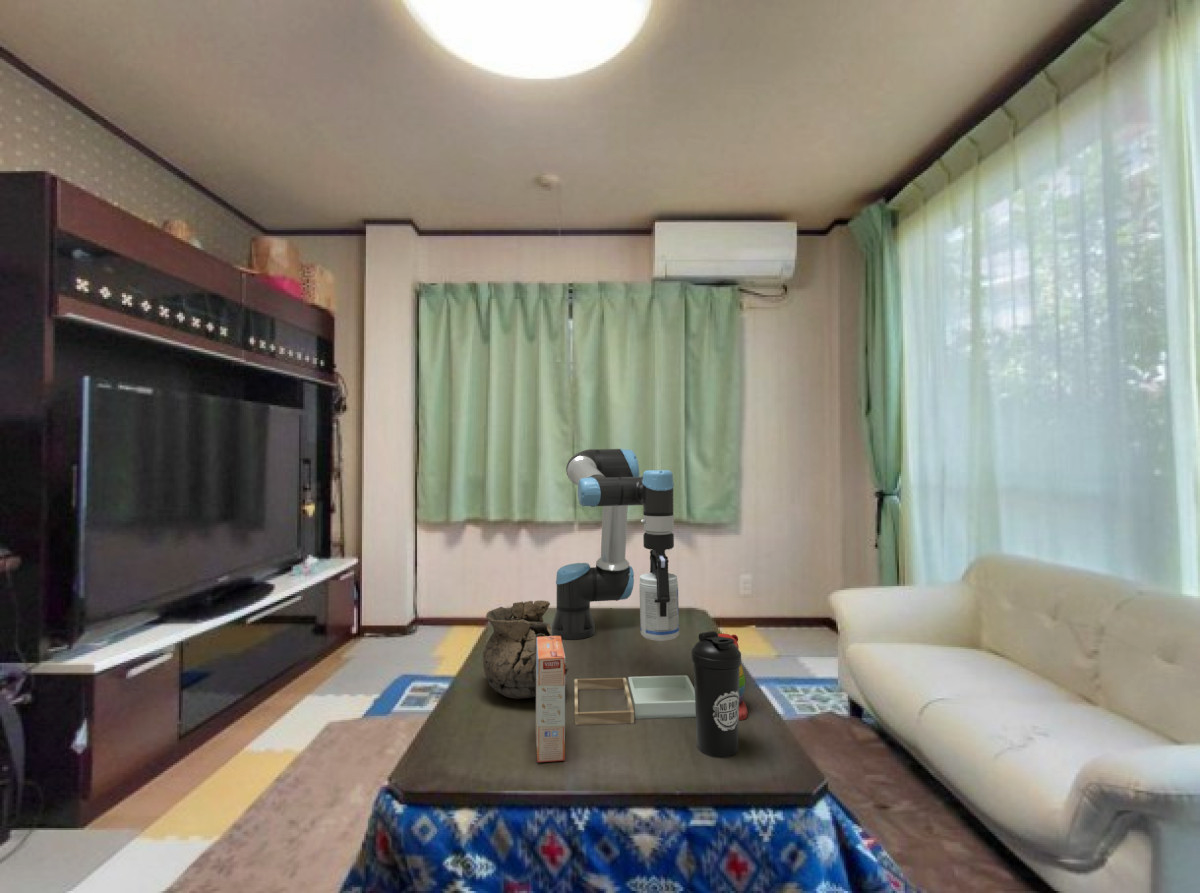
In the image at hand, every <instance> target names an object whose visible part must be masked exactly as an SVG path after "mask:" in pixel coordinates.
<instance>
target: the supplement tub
mask: <svg viewBox="0 0 1200 893" xmlns="http://www.w3.org/2000/svg"><path fill="white" fill-rule="evenodd" d="M668 576H669V596H670V602H668V629H669V630H657V604H656V603H655V599H657V580H656V575H654V574H652V573H650V572H647V573H643V574H641V575H640V576H639V616H640V617H639V622H640V624H639V626H640V635H641V636H642V637H643V638H644V639H647V640H651V641H654V642H655V641H656V642H657V641H658V642H665V641H670V640H673V639H676V638H677V637H678V636H679V635H680V619H679V618H680V616H679V615H680V614H679V611H680V610H679V607H680V606H679V584H678V583H679V581H678V576H677V575H676V574H675V573H669V572H668ZM661 597H663V596H661Z"/></svg>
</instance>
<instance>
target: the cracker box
mask: <svg viewBox="0 0 1200 893" xmlns="http://www.w3.org/2000/svg"><path fill="white" fill-rule="evenodd" d="M565 665H566V654H565V649H564V645H563V639H561V636H553V635H552V636H544V637H537V638H536V697H535V739H536V740H535V741H536V742H535V743H536V759H537V760H536V761H537V763H547V762H548V763H549V762H550V763H551V762H561V761H562V762H564V761H565V760H566V759H565V758H566V738H565V737H566V736H565V735H566V675H565V669H566V667H565Z"/></svg>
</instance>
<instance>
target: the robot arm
mask: <svg viewBox="0 0 1200 893" xmlns="http://www.w3.org/2000/svg"><path fill="white" fill-rule="evenodd" d="M565 471H566V472H565V473H566V475H567V478H568V479H569V481H570V482H572V483H573V484H575V485H576V486H577V498H578V499H577V500H578V503H579V504H580V506H582V507H591V508H594V507H602V513H601V514H602V516H601V517H602V518H601V539H600V540H601V543H600V545H601V546H600V557H599V558H598V559H597V560H596V563H595V567H594V566H593V567H591V565H590V564H589V563H587V562H576V563H569V564H566V565H563V566H561V567H560V568H558V569H557V572H556V580H555V585H556V610H555V611H556V612H555V615H554V618H553V622H552V625H551V635H552V636H561V639H562V640H581V639H586V638H589V637H592V636H594V634H596V624H595V622H594V618H593V616H592V612H591V603H592V602H611V601H616V602H618V601H622V600H623V601H624V600H628V599H629V598H630V597H631V595H632V593H633V590H634V584H635V579H634V576H635V574H634V569H633V567H632V566H631V565H630V562H629V561H628V560H627V559H626V552H627V551H626V548H627V532H628V531H627V526H628V525H627V524H628V507H629V506H642V508H643V510H642V511H643V512H642V514H643V518H642V519H640V522H641V523H642V524H643V531H644V533H643V538H642V539H643V548H644V549H646V550H649V562H650V563H649V564H650V565H649V573H652V574H654V575H656V580H657V599H655V603H656V604H657V630H669V629H668V602H670V596H669V576H668V573H669V562H670V560H669V559H668V558H669V557H668V556H667V554H666V550H672V549H673V548H674V547H675V542H674V541H675V535H674V534H673V532H674V530H675V517H674V516H675V515H674V487H675V486H674V485H675V483H674V477H673V476H674V475H673V474H674V473H673V472H672V471H671V470H668V469H667V470H665V469H659V470H658V469H654V470H653V469H651V470H645V471H643V474H642V475H641V476H640V467H639V461H638V457H637V455H636V453H635V452H634V451H633V450H631V449H624V448H602V449H601V448H600V449H598V448H597V449H596V448H595V449H594V448H593V449H592V448H590V449H584V450H582V451H579V452H577V453H575V454H574V455H572V457H571V458H570V459H569V460H568V461H567V463H566V468H565ZM661 596H663V597H661Z"/></svg>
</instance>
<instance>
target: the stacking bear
mask: <svg viewBox="0 0 1200 893" xmlns="http://www.w3.org/2000/svg"><path fill="white" fill-rule="evenodd" d="M717 634H718V636H720V637H726V638H731V639H733V640H734V643H733V644H735V645H736V646H737V648H738V650H739V651H740V649H739V637H738V636H737V635H736V634H729V633H724V632H723V633H717ZM745 689H746V677H745V673H744V669H743V665H742V664H741V665H740V666H739V721H742V720H745V719H747V716H748V708H747V705H746V703H745V701H744V696H745V692H746V691H745Z"/></svg>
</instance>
